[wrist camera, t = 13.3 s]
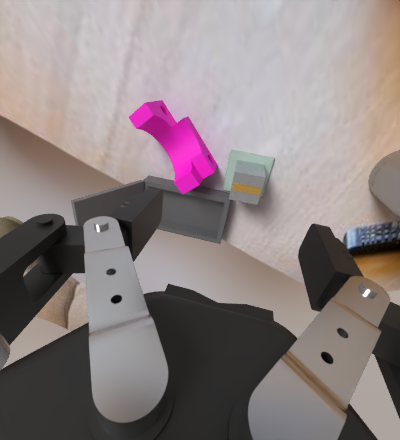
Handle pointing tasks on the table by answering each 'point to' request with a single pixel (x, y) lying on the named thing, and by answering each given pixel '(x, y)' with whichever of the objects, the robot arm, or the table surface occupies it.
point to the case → (165, 207)
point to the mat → (249, 158)
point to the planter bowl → (8, 225)
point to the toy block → (177, 144)
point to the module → (247, 182)
